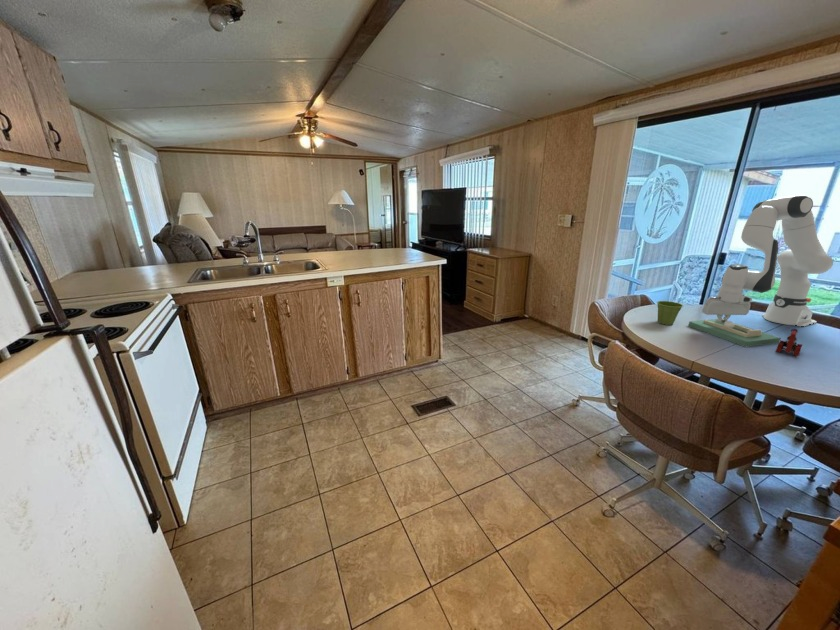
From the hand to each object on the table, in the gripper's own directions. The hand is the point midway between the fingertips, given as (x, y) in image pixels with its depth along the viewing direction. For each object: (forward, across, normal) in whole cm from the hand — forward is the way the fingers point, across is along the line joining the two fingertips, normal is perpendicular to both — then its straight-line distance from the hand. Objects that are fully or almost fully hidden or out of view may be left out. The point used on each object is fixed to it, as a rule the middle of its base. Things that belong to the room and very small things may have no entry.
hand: (721, 322), depth 173 cm
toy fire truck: (+4, +10, -26) cm, 29 cm away
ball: (0, 0, -5) cm, 5 cm away
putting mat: (+4, +2, -5) cm, 7 cm away
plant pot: (+4, -21, +10) cm, 24 cm away
